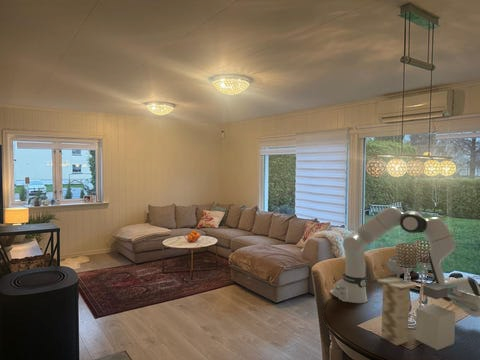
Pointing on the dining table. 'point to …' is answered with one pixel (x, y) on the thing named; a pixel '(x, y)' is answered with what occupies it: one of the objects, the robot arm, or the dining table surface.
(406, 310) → the beige pillar
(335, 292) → the robot arm
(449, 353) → the dining table surface
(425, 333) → the grey pedestal
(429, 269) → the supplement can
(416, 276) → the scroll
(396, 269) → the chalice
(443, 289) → the grey boxy piece
